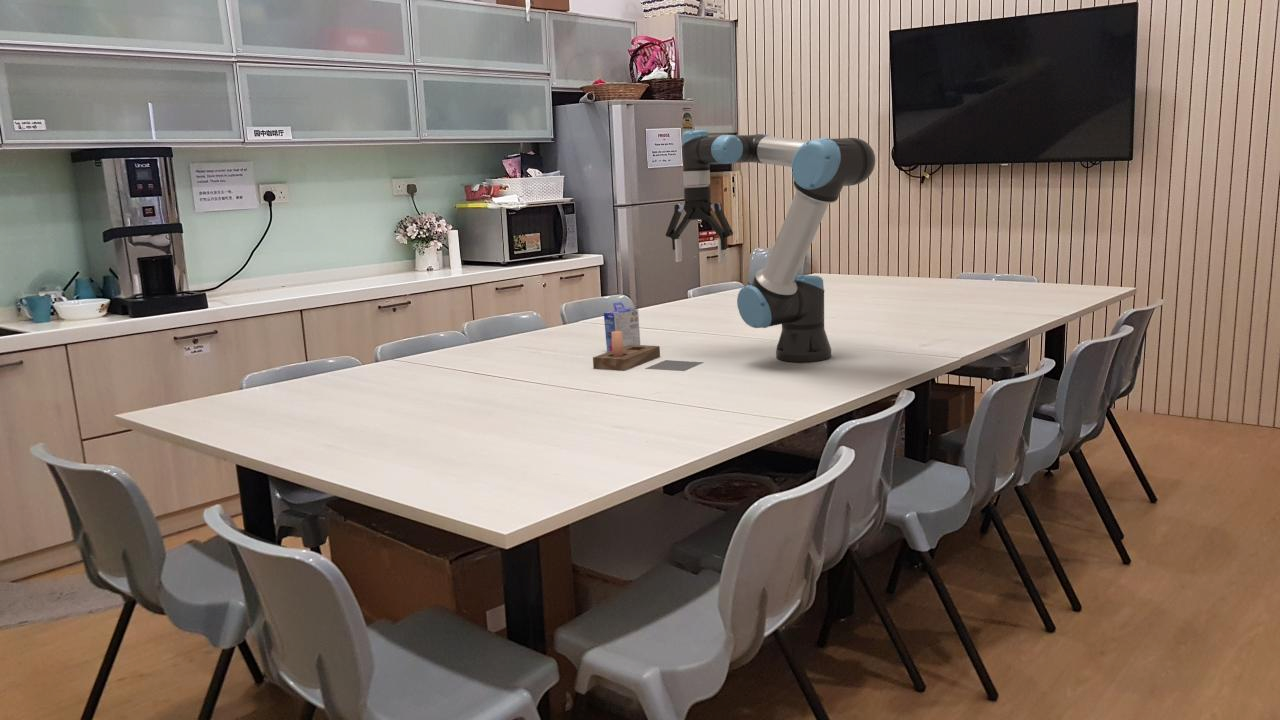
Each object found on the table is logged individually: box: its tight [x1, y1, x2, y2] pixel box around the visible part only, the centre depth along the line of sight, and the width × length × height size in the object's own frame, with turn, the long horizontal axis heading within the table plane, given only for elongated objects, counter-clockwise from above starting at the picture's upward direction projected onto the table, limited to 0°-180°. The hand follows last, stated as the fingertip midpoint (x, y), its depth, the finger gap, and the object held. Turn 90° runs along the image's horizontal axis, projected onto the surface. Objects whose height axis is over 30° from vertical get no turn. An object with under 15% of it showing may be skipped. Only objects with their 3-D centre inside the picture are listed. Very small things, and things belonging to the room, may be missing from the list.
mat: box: [644, 359, 704, 372], centre depth 272 cm, size 12×12×1 cm
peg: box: [611, 331, 623, 357], centre depth 274 cm, size 3×3×10 cm
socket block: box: [592, 344, 661, 372], centre depth 279 cm, size 10×20×4 cm, turn 150°
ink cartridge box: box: [603, 301, 641, 353], centre depth 300 cm, size 10×6×14 cm, turn 132°
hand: (700, 261), depth 285 cm, fingers open, 13 cm apart
